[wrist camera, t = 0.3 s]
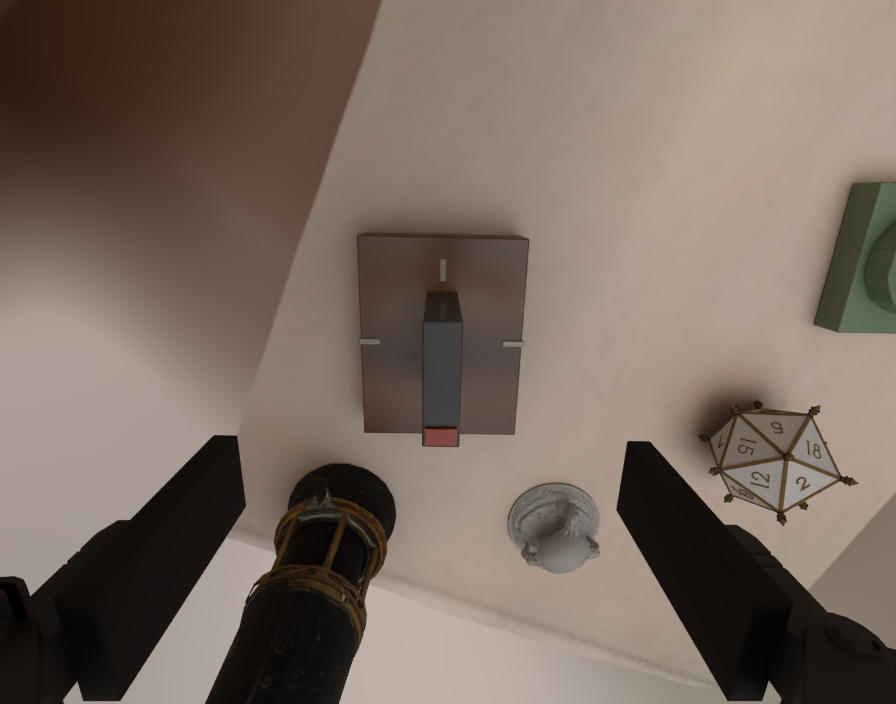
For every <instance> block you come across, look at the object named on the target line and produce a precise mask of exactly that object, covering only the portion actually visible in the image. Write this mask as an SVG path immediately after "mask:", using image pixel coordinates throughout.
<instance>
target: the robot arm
mask: <svg viewBox="0 0 896 704" xmlns="http://www.w3.org/2000/svg"><path fill="white" fill-rule="evenodd" d="M245 507H246V502H245V494H244V486H243V479H242V471H241V463H240V455H239V447H238V439H237V436H225V435H214V436H213V437H212V438H211V439H210V440H209V441H208V442H207V443H206V444H205V445H204V446H203V447H202V448H201V449H200V450H199V451H198V452H197V453H196V454H195V455H194V456H193V457H192V458H191V459H190V460H189V461H188V462H187V463H186V464H185V465H184V466H183V467H182V468H181V469H180V470H179V471H178V472H177V473H176V474H175V475H174V476H173V477H172V478H171V479H170V480H169V481H168V482H167V483H166V484H165V485H164V486H163V487H162V488H161V489H160V490H159V491H158V493H156V494H155V495H154V496H153V497H152V499H150V501H149V502H148V503H147V504H146V505H145V506H144V507H143V508H142V509H141V510H140V511H139V512H138V513H137V514H136V515H135V516H134V517H133V518H132V519H131V520H118V521H116V522H115V523H113V524H111V525H110V526H108V527H106V528H105V529H103V530H101V531H100V532H98V533H97V534H96V535H94V536H93V537H92V538H91V539H90V540H89V541H88V542H87V543H86V544H85V545H84V546H83V547H82V548H81V550H80V552H77V553H76V554H74V555H73V556H72V557H71V558H70V559H69V560H68V562H67V564H64V565H63V566H62V567H61V568H60V569H59V570H58V571H57V572H56V573H55V574H53V575H52V576H51V577H50V578H49V579H48V580H47V581H46V582H45V583H44V584H43V585H42V586H41V587H40V588H39V589H38V590H37V591H36V592H35V593H34V594H33V595H31V596H30V595H29V592H28V588H27V585H26V584H25V582H24V580H23V579H21V578H18V577H14V576H10V577H0V704H64V702H63V699H64V698H65V696H66V695H67V694H68V692H69V691H70V690H71V688H72V687H73V686H74V684H75V683H76V682H77V681H78V684H79V688H80V691H81V695H82V698H83V701H121V699H122V697H123V696H124V694H125V693H126V691H127V690H128V688H129V687H130V685H131V684H132V682H133V680H134V679H135V677H136V676H137V674H138V672H139V671H140V670H141V668H142V667H143V665H144V663H145V662H146V660H147V659H148V657H149V656H150V654H151V653H152V651H153V650H154V648H155V646H156V645H157V643H158V642H159V640H160V639H161V637H162V636H163V634H164V632H165V631H166V629H167V628H168V626H169V625H170V623H171V622H172V620H173V618H174V617H175V615H176V614H177V612H178V611H179V609H180V608H181V606H182V604H183V603H184V601H185V600H186V598H187V597H188V595H189V594H190V592H191V591H192V589H193V588H194V586H195V584H196V583H197V581H198V580H199V578H200V577H201V575H202V574H203V572H204V570H205V569H206V567H207V566H208V564H209V563H210V561H211V560H212V558H213V557H214V555H215V553H216V551H217V550H218V549H219V547H220V546H221V544H222V543H223V541H224V540H225V538H226V536H227V535H228V533H229V532H230V530H231V529H232V527H233V526H234V524H235V522H236V521H237V519H238V518H239V516H240V515H241V513H242V512H243V510H244V509H245ZM616 510H617V512H618V514H619V515H620V517H621V519H622V520H623V522H624V524H625V526H626V527H627V529H628V531H629V532H630V534H631V536H632V538H633V539H634V541H635V543H636V544H637V546H638V548H639V550H640V551H641V553H642V555H643V556H644V558H645V560H646V562H647V563H648V565H649V567H650V568H651V570H652V572H653V574H654V575H655V577H656V579H657V580H658V582H659V584H660V586H661V587H662V589H663V591H664V592H665V594H666V596H667V598H668V599H669V601H670V603H671V604H672V606H673V608H674V610H675V611H676V613H677V615H678V616H679V618H680V620H681V622H682V623H683V625H684V627H685V628H686V630H687V632H688V634H689V635H690V637H691V639H692V640H693V642H694V644H695V646H696V647H697V649H698V651H699V652H700V654H701V656H702V658H703V659H704V661H705V663H706V664H707V666H708V668H709V670H710V671H711V673H712V675H713V676H714V678H715V680H716V682H717V683H718V685H719V686H720V688H721V690H722V692H723V694H724V695H725V697H726V699H727V700H728V701H762V700H763V697H764V694H765V691H766V688H767V684H768V681H770V683H771V684H772V685H773V687H774V688H775V690H776V691H777V693H778V694H779V695H780V697H781V698H782V699H781V702H780V704H896V650H895V649H891V648H887V647H886V646H885V645H884V643H883V642H882V641H881V640H880V639H879V638H878V637H877V636H876V635H875V634H873V633H872V632H871V631H869V630H868V629H867V628H865V627H864V626H862V625H860V624H859V623H857V622H855V621H853V620H851V619H849V618H847V617H844V616H840V615H838V614H834V613H829V612H826V610H825V609H824V608H823V607H822V606H821V605H820V604H819V603H818V602H817V601H816V600H815V599H814V597H812V595H811V594H810V593H809V592H808V591H807V590H806V589H805V588H804V587H803V586H802V585H801V584H800V583H799V582H798V581H797V580H796V579H795V578H794V577H793V576H792V574H791V573H790V572H789V571H788V570H787V569H786V568H783V566H782V564H781V563H780V562H779V561H778V560H777V559H776V558H775V557H774V556H771V553H770V551H769V550H768V549H767V548H766V547H765V546H764V545H763V544H762V543H761V542H760V541H759V540H758V539H757V538H756V537H754V536H753V535H751V534H750V533H748V532H747V531H745V530H744V529H742V528H741V527H739V526H738V525H724V524H723V523H722V522H721V520H720V519H719V518H718V517H717V516H716V515H715V514H714V513H713V512H712V510H711V509H710V508H709V507H708V506H707V505H706V504H705V503H704V502H703V500H702V499H701V498H700V497H699V496H698V495H697V494H696V493H695V491H694V490H693V489H692V488H691V487H690V486H689V485H688V484H687V483H686V481H685V480H684V479H683V478H682V477H681V476H680V475H679V474H678V472H677V471H676V470H675V469H674V468H673V467H672V466H671V465H670V464H669V462H668V461H667V460H666V459H665V458H664V457H663V456H662V455H661V453H660V452H659V451H658V450H657V449H656V448H655V447H654V446H653V445H652V443H651V442H646V441H627V448H626V454H625V460H624V466H623V472H622V478H621V485H620V491H619V497H618V503H617V509H616Z"/></svg>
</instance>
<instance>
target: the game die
mask: <svg viewBox="0 0 896 704" xmlns="http://www.w3.org/2000/svg"><path fill="white" fill-rule="evenodd" d="M754 406H755V408H756V409H753V410H747V411H741V412H739V408H738V407H737V405H734V404H731V403H730V409H729V410H731V412H733V413H735V414H734V415H733V416H732V417H731V418H730V419H729V420H728V421H727V422H726V423H725V424H724V425H723V426H722V427H721V428H720V429H719V430H718V431H717V432H716V433H715V434H714V435H713V436H711V437H708V436H707V435H706V436H705V435H704V434H703V435H700V436H698V437H699V438H700V439H701V441H704V442H706V441H708V442H709V444H710V447H711V450H712V453H713V456H714V459H715V462H716V465H717V468H716V467H713V468H710V471H709V472H708V473H710V474H712V475H713V476H714V475H717V474H719V473H720V475H721V477H722V479H723V481H724V483H725V485H726V487H727V489H728V491H729V493H730V494H729V495H726V496H725V497H724V503H726V502H731V501H732V500H733V497H737V498H739V499H742V500H745V501H747V502H750V503H753V504H756V505H758V506H761V507H764V508H766V509H769V510H772V511H775V512H777V513H778V514H777V516H776V517H777V521H779V522H780V523H781V524H782V525H783V526H784V524H785V523H786V522H787V520H786V519H785V518H786V516H785V515H784V512H786V511H788V510H790V509H791V508H793V507H795V506H797V505H799V507H800V508H801V509H804V510H807V507H808V504H806V502H804V501H806V500H807V499H809V498H811V497H813V496H814V495H816V494H818V493H820V492H821V491H823V490H825V489H827V488H829V487H830V486H832V485H834V484H836V483H837V482H839V481H841V482H843V483H844V484H848V485H849V486H850V485H855V484H858V483H857V482H856V481H855V480H854V479H852V477H851V478H849V477H848V476H846V477H842V476H841V475H840V472H839V470H838V468H837V466H836V464H835V462H834V460H833V458H832V456H831V454H830V452H829V450H828V448H827V446H826V444H827V442H825V441H824V439H823V437H822V435H821V433H820V431H819V429H818V427H817V425H816V423H815V421H814V419H813V416H814V415H817V413H819V412H820V405H819V406H815V407H811V409H809V413H807V414H805V413H796V412H787V411H778V410H770V409H761V408H762V403H761V402H759V401H758V400H756V401H755V403H754Z"/></svg>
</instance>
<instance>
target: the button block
mask: <svg viewBox="0 0 896 704" xmlns="http://www.w3.org/2000/svg"><path fill="white" fill-rule="evenodd" d="M815 325H817V326H820V327H823V328H826V329H829V330H832V331H835V332H844V333H896V182H874V183H855V184H853V187H852V190H851V194H850V198H849V201H848V205H847V208H846V212H845V216H844V219H843V223H842V226H841V230H840V234H839V237H838V241H837V245H836V248H835V252H834V255H833V259H832V263H831V266H830V270H829V273H828V277H827V281H826V284H825V288H824V291H823V295H822V299H821V302H820V306H819V309H818V313H817V317H816V320H815Z"/></svg>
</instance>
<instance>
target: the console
mask: <svg viewBox="0 0 896 704" xmlns="http://www.w3.org/2000/svg"><path fill="white" fill-rule="evenodd" d="M357 244H358V272H359V299H360V327H361V338H359V344H361V354H362V382H363V409H364V432H365V433H422V386H423V318H424V312H425V305H426V298H427V292H457V293H458V298H459V303H460V308H461V313H462V318H463V347H462V376H461V405H460V433H459V434H504V435H514V434H515V422H516V408H517V395H518V382H519V369H520V356H521V347H523V344H524V342H523V341H522V329H523V316H524V303H525V290H526V277H527V264H528V250H529V239H527V238H525V237H522V236H500V235H457V234H414V233H371V232H365V233H362V234H360V235H358V236H357Z"/></svg>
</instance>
